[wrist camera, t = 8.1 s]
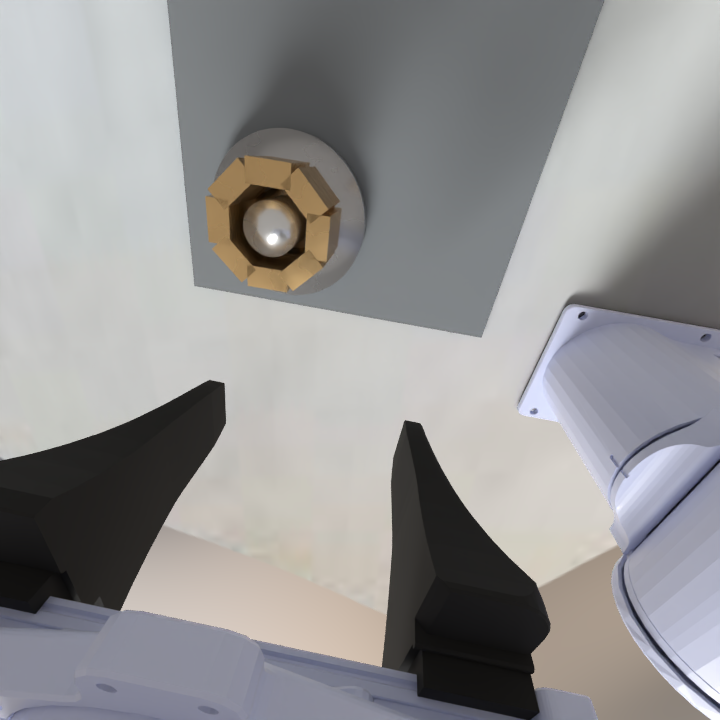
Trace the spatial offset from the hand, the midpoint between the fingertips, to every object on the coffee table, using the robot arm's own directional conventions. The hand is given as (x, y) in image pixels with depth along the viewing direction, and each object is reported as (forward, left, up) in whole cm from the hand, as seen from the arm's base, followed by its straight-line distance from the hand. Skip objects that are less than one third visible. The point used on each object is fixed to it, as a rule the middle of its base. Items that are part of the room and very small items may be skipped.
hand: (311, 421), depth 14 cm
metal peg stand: (+4, -6, -9) cm, 12 cm away
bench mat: (+1, -11, -10) cm, 15 cm away
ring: (+4, -6, -8) cm, 11 cm away
